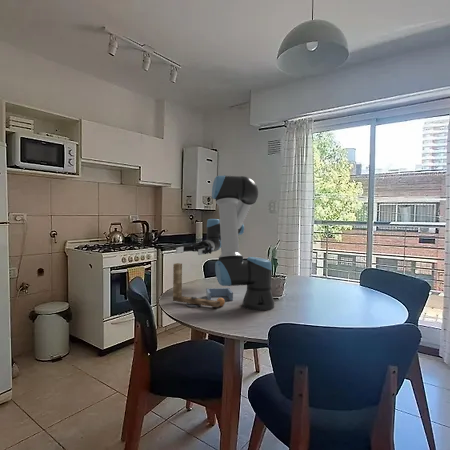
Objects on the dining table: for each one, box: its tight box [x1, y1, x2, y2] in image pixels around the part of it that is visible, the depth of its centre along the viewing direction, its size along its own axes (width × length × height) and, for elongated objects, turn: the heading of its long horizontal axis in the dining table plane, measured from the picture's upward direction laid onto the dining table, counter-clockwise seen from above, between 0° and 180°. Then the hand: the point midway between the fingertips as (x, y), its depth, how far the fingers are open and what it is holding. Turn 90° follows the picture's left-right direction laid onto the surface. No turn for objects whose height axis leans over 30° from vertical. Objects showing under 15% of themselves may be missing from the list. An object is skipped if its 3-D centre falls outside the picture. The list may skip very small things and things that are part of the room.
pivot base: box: [185, 303, 202, 308], centre depth 163 cm, size 7×7×1 cm
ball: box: [216, 297, 226, 307], centre depth 163 cm, size 4×4×4 cm
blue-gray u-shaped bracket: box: [205, 287, 234, 301], centre depth 177 cm, size 10×12×4 cm
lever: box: [172, 262, 221, 308], centre depth 162 cm, size 24×3×18 cm, turn 67°
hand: (187, 251), depth 175 cm, fingers open, 12 cm apart
